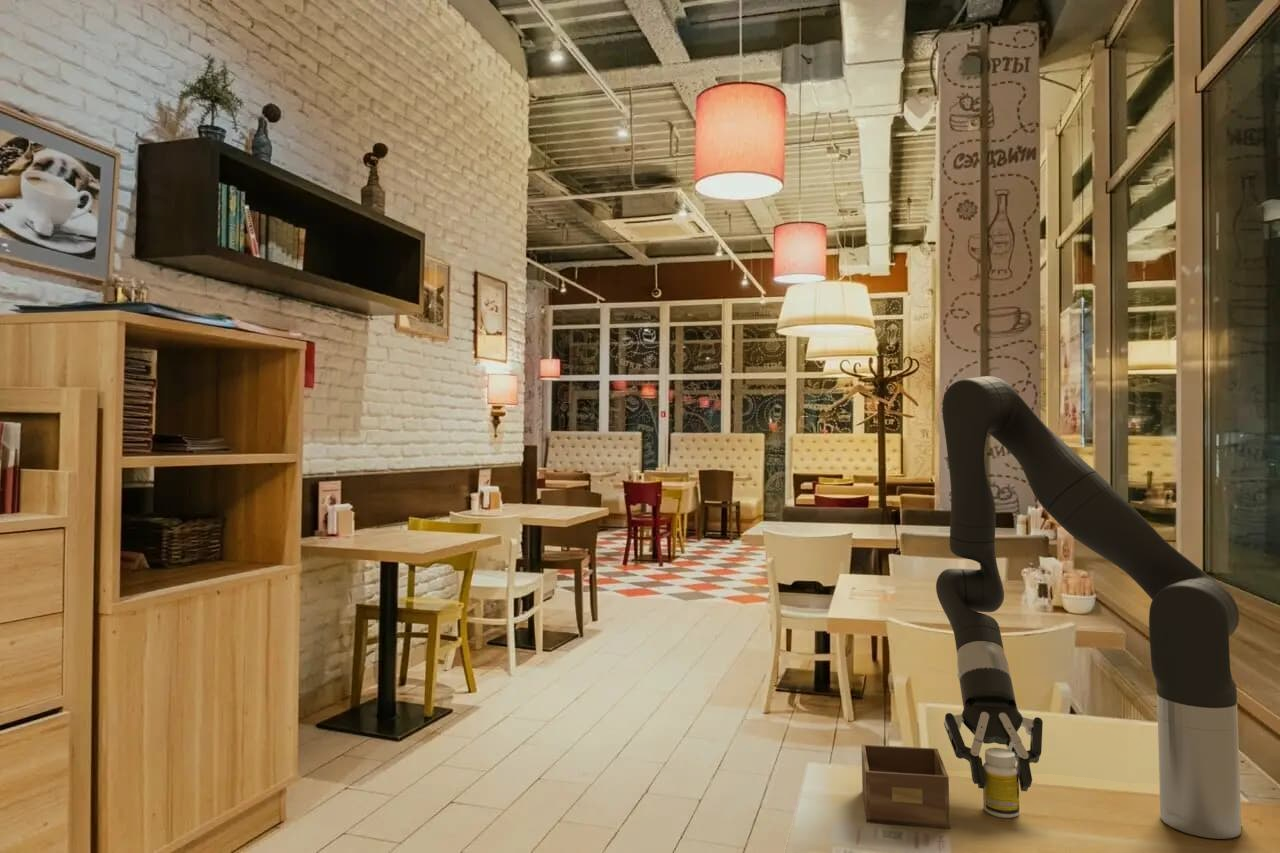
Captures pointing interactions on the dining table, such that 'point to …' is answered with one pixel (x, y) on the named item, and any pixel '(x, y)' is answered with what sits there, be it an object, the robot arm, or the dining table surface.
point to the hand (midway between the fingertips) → (1003, 787)
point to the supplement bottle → (1001, 783)
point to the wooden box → (905, 786)
